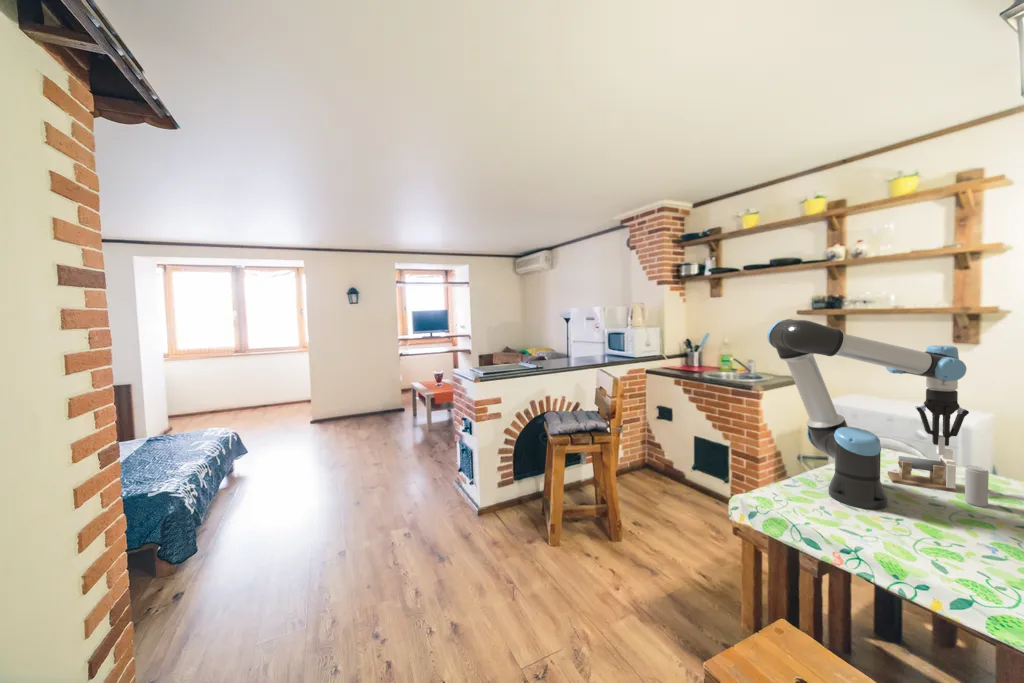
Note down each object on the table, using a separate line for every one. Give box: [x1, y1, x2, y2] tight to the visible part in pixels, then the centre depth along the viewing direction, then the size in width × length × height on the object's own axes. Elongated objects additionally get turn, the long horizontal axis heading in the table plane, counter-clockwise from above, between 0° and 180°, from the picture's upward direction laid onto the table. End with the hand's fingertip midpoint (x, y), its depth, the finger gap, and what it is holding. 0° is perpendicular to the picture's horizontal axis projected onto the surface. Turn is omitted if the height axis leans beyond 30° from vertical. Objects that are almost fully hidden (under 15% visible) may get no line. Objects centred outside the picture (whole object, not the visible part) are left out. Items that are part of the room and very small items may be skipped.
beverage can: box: [964, 464, 990, 508], centre depth 125 cm, size 5×5×12 cm
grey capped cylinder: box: [897, 455, 945, 472], centre depth 141 cm, size 12×4×4 cm, turn 54°
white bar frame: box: [939, 448, 957, 489], centre depth 137 cm, size 2×9×12 cm, turn 143°
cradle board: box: [887, 461, 958, 493], centre depth 141 cm, size 16×9×8 cm, turn 54°
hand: (940, 453), depth 138 cm, fingers closed
